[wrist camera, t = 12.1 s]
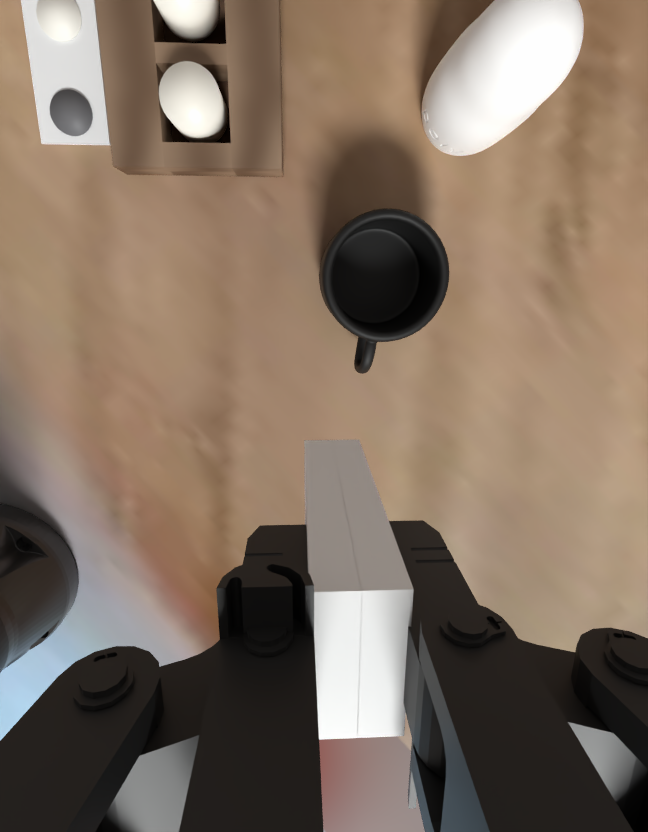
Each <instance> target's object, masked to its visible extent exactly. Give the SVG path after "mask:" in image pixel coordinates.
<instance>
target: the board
mask: <svg viewBox="0 0 648 832" xmlns="http://www.w3.org/2000/svg"><path fill="white" fill-rule="evenodd" d="M95 2H96V12H97V21H98V30H99V39H100V49H101V58H102V67H103V77H104V86H105V95H106V105H107V114H108V123H109V133H110V142H111V151H112V161H113V166H114V167H115V168H117V169H119V170H120V171H122V172H124V173H126V174H127V175H193V176H261V177H283V138H282V81H281V24H280V0H224V3H225V25H226V44H205V43H169V42H165V40H164V27H163V17H162V16H161V14H160V12H159V10H158V8H157V6H156V4H155V2H154V1H153V0H95ZM183 61H190V62H195V63H198V64H200V65H201V66H203V67H204V68H206V69H207V70H208V71H209V72H210V73H211V74H212V76H213V77H214V79H215V81H228V93H229V115H230V137H231V143H191V142H172V133H171V121H170V120H169V118H168V117H167V116H166V114H165V113H164V111H163V109H162V107H161V104H160V99H159V86H160V82H161V79H162V77H163V75H164V73H165V72H166V71H167V70H168V68H170V67H171V66H172V65H174V64H176V63H178V62H183Z"/></svg>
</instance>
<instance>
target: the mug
mask: <svg viewBox="0 0 648 832" xmlns="http://www.w3.org/2000/svg"><path fill="white" fill-rule="evenodd" d="M448 282H449V263H448V258H447V254H446V251H445V248H444V246H443V244H442V242H441V240H440V238H439V237H438V235H437V234H436V232H435V231H434V230H433V229H432V228H431V227H430V225H428V224H427V223H426V222H425V221H424V220H422V219H421V218H419V217H417V216H416V215H413V214H411V213H409V212H406V211H402V210H397V209H379V210H373V211H370V212H366V213H364V214H362V215H360V216H357V217H356V218H354V219H353V220H351V221H350V222H348V223H347V224H346V225H345V226H344V227H343V228H342V229H341V230H340V231H339V232H338V233H337V234H336V235H335V236H334V237H333V239H332V240H331V242H330V243H329V244H328V246H327V248H326V250H325V252H324V255H323V257H322V261H321V265H320V273H319V283H320V289H321V293H322V297H323V299H324V302H325V304H326V306H327V308H328V309H329V311H330V312H331V313H332V315H333V316H334V317H335V318H336V320H337V321H338V322H339V323H340V324H341V325H342V326H343V327H344V328H346V329H347V330H348V331H350V332H351V333H353V334H355V335H356V336H358V342H357V348H356V354H355V361H354V366H355V370H356V371H357V372H358V373H366V372H367V371H368V370H369V369H370V367H371V365H372V362H373V358H374V354H375V349H376V343H377V342H389V341H395V340H399V339H402V338H405V337H408V336H410V335H412V334H414V333H416V332H417V331H419V330H420V329H422V328H423V327H424V326H425V325H426V324H427V323H428V322H429V321H430V320H431V319H432V318H433V317H434V316H435V314H436V313H437V311H438V310H439V308H440V306H441V305H442V302H443V300H444V298H445V295H446V292H447V288H448Z"/></svg>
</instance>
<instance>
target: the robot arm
mask: <svg viewBox="0 0 648 832" xmlns="http://www.w3.org/2000/svg"><path fill="white" fill-rule="evenodd" d="M304 445H305V525H267V526H259V527H258V528H257V529H256V530H255V532H254V533H253V534H252V535H251V536H250V537H249V538H248V540H247V545H246V551H245V557H244V561H243V565H241V566H238V567H236V568H234V569H233V570H231V571H230V572H229V573H227V574H226V575H225V576H224V577H223V578H222V580H221V581H220V583H219V585H218V586H217V603H218V618H219V633H220V640H219V641H218V642H217V643H216V644H215V645H214V646H212V647H211V648H209V649H207V650H206V651H204V652H202V653H201V654H198V655H196V656H193V657H191V658H188V659H185V660H182V661H178V662H175V663H171V664H168V665H164V666H161V667H159V662H158V661H157V660H156V659H155V657H154V656H153V655H152V654H151V653H150V652H149V651H146V650H143V649H140V648H137V647H135V646H116V647H112V648H108V649H104V650H100V651H97V652H94V653H92V654H90V655H88V656H86V657H84V658H82V659H80V660H78V661H77V662H75V663H74V664H72V665H71V666H70V667H69V668H68V669H67V670H65V671H64V672H63V673H62V674H61V675H60V676H58V677H57V679H56V680H55V681H54V682H53V683H52V684H51V685H50V686H49V687H48V689H47V690H46V691H45V692H44V693H43V694H42V695H41V696H40V697H39V699H38V700H37V701H36V702H35V703H34V704H33V705H32V706H31V707H30V709H29V710H28V711H27V712H26V713H25V714H24V715H23V716H22V717H21V719H20V720H19V721H18V722H17V723H16V724H15V725H14V726H13V728H12V729H11V730H10V731H9V732H8V733H7V734H6V735H5V736H4V738H3V739H2V740H1V741H0V832H323V815H322V795H321V773H320V751H319V739H341V738H366V737H389V736H404V728H405V713H406V715H407V719H408V723H409V727H410V731H411V735H412V748H411V761H410V762H411V763H410V775H409V789H408V804H409V805H408V806H409V809H410V808H416V800H417V798H418V803H419V807H420V811H421V815H422V820H423V825H424V829H425V832H648V638H645V637H642V636H640V635H637V634H635V633H632V632H629V631H624V630H619V629H614V628H599V629H592V630H590V631H588V632H586V633H584V634H582V635H581V637H580V639H579V641H578V644H577V647H576V652H570V651H565V650H560V649H555V648H550V647H545V646H540V645H536V644H533V643H529V642H526V641H522V640H520V639H518V638H517V636H516V634H515V633H514V631H513V629H512V628H511V627H510V626H509V625H508V624H507V622H506V621H505V620H504V619H503V618H502V617H501V616H499V615H498V614H496V613H495V612H493V611H491V610H490V609H488V608H486V607H483V606H480V605H478V603H477V601H476V599H475V597H474V596H473V594H472V592H471V590H470V588H469V586H468V585H467V583H466V581H465V579H464V577H463V575H462V574H461V572H460V570H459V568H458V566H457V564H456V563H455V562H454V559H453V557H452V555H451V553H450V551H449V550H447V546H446V544H445V542H444V540H443V539H442V537H441V535H440V533H439V532H438V531H436V530H435V529H434V528H432V527H431V526H430V525H428V524H427V523H426V522H424V521H389V520H388V518H387V515H386V512H385V509H384V507H383V504H382V501H381V498H380V496H379V493H378V490H377V488H376V485H375V482H374V479H373V477H372V474H371V471H370V468H369V466H368V463H367V460H366V457H365V455H364V452H363V449H362V446H361V444H360V441H359V440H304ZM77 590H78V573H77V568H76V564H75V561H74V558H73V556H72V554H71V552H70V550H69V548H68V547H67V545H66V544H65V542H64V541H63V540H62V539H61V537H60V536H59V535H58V534H57V533H56V532H55V531H54V530H53V529H52V528H51V527H49V526H48V525H47V524H46V523H44V522H43V521H41V520H40V519H38V518H37V517H35V516H33V515H31V514H29V513H27V512H25V511H23V510H20V509H17V508H14V507H11V506H7V505H3V504H0V672H1V671H2V670H3V669H5V668H6V667H8V666H9V665H10V664H12V663H13V662H15V661H16V660H17V659H19V658H20V657H21V656H23V655H24V654H25V653H26V652H27V651H28V650H30V649H32V648H34V647H35V646H37V645H38V644H40V643H41V642H43V641H44V640H45V639H47V638H48V637H49V636H50V635H51V634H52V633H53V632H54V631H55V630H56V629H57V628H58V626H59V625H60V624H61V622H62V621H63V619H64V618H65V616H66V615H67V613H68V612H69V610H70V609H71V607H72V605H73V603H74V601H75V598H76V595H77Z"/></svg>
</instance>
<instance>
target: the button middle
mask: <svg viewBox="0 0 648 832" xmlns="http://www.w3.org/2000/svg"><path fill="white" fill-rule="evenodd" d="M153 1H154V2H155V4H156V6H157V8H158V10H159V12H160V14H161V16H162V17H163V19H164V21H165V23H166V25H167V26H168V28H169V29H170V30H171V31H172V32H173V33H174V34H175V35H176V36H177V37H179V38H181V39H183V40H186V41H192V42H195V41H200V40H203V39H205V38H207V37H208V36H209V35H211V33H212V32H213V31H214V30H215V28H216V26H217V24H218V21H219V17H220V2H219V0H153Z"/></svg>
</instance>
